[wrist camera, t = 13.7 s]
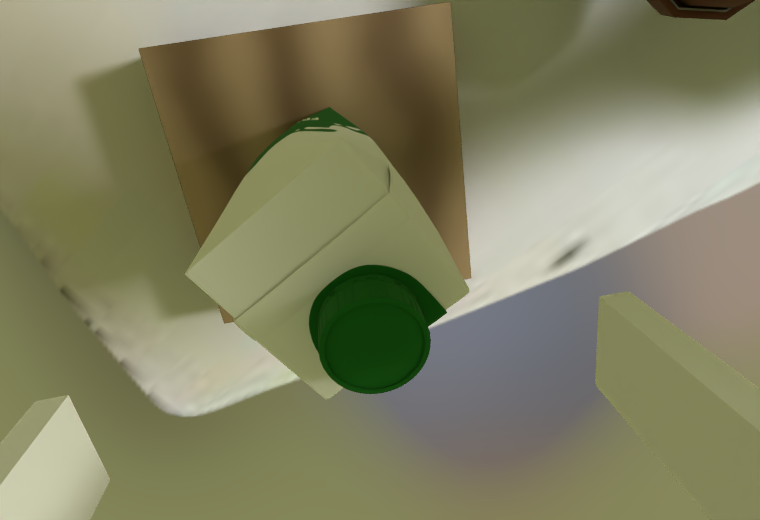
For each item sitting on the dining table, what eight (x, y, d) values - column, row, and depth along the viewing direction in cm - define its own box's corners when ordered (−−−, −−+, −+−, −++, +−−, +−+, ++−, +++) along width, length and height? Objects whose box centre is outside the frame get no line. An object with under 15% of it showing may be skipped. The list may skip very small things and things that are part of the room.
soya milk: (321, 259, 37) (325, 454, 18) (234, 169, 33) (133, 298, 15) (411, 185, 35) (512, 316, 17) (329, 84, 32) (346, 112, 14)
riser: (433, 9, 36) (450, 1, 31) (454, 255, 44) (471, 278, 39) (162, 50, 35) (138, 48, 30) (234, 295, 42) (224, 323, 38)
